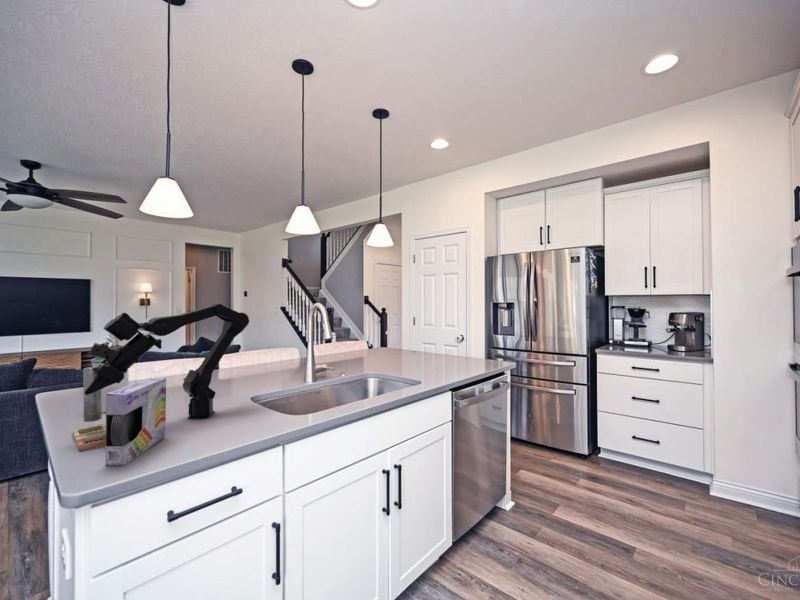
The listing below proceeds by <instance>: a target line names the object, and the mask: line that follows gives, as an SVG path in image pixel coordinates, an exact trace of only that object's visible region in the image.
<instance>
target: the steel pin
mask: <svg viewBox="0 0 800 600" xmlns="http://www.w3.org/2000/svg"><path fill="white" fill-rule="evenodd" d="M98 368H100V367H92V366H88V367H84V368H83V369H82V370H83V371H82V373H83V375H82V377H83V382H82V383H83V386H82V387H83V388H82V389H83V423H90V422H96V421H100V420H102V418H103V417H102V416H103V415H102V389H100V390H98V391H96V392H93V393H91V394H89V395H86V394H85V393H84V392H85V391H86V390H87V388H88V387H89V386H90V385H91V384H92V382H93V381H94V380H95V379H96V377H97V376H98V373H97V370H98Z"/></svg>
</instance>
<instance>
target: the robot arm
mask: <svg viewBox="0 0 800 600" xmlns="http://www.w3.org/2000/svg"><path fill="white" fill-rule="evenodd" d="M213 317H217V318H219V319H220V320H221V321H224V323H223V326H222V331H221V333H220V334H219V336H218V338H217V339H216V341H215V342H214V343H213V345H212V347H211V348H210V350H209V352H208V353H207V355H206V356H205V358H204V359H203V361H202V362H201V364H200V365H199V367H198V368H196V369H195V370H193V369H189V370H188V373H187V375H186V376H185V377H184V378H183V379H182V381H183V383H182V389H183V391H184V392H185V393H187V394H188V396H189V397H190V399H189V403H188V416H187V419H189V420H190V419H208V418H209V417H211V416H213V415H214V414H215V413H216V411H215V410H214V398H215V396H216V391H215V390H214V389H212V388H210V387H209V386H210V384H211V381H212V378H213V377H212V376H213V373H214V372H215V369H217V366H218V365H219V362H220V361H221V360H222V358H223V356H224V355H225V353H226V352H227V350H228V349H229V347H230V345H231V344H232V342H233V340H234V339H235V338H236V337H237V336H238V335H239V334H241V333H242V332H243V331H244V330H245V328H247V327H248V326H249V323H250V319H249V316H248V314H246V313H245V312H238V311H237V310H234V309H232V308H229V307H226V306H225V305H223V304H222V303H213V304H211V305H209V306H204V307H201V308H196V309H193V310H191V311H188V312H183V313H181V314H174V315H166V316H158V317H153V318H151V319H149V320H148V322H147V321H146V322H140V323H139V322H137V321H136V320H135V319H134V318H132V317H131V316H130V315H129V314H128V313H127V312H122V313H121V314H119V315H117V316H116V317H114V318H113V319H111V320H109V321H108V322H107V323H106V324H105V325H104V326H103V330H105V331H106V332H107V333H109V334H110V335H111V336H113V337H114V338H116V339H117V340H119V341H120V342H122V341H124V340H125V341H127V342H126V344H124V345H123V346H119V347H118V348H114V347H110V346H109V344H105V343H98V342H97V343H96V342H94V343H93V345H92V347H91V349H90V350H89V352H88V355H89V356H93V357H94V356H95V357H96V356H98V357H102V358H105V359H104V360H103V361H102V362H101V363H102V364H103V363H104V364H103V365H99V367H100V368H98V370H97V373H98V376H97V377H96V379H95V380H94V381H93V382H92V384H91V385H90V386H89V387H88V388H87V390H86V391H85V392H84V391H83V394H84V393H85V394H86V395H89V394H91V393H93V392H96V391H98V390H100V389H103V388H105V387H107V386H109V385H112V384H114V383H120V382H121V381H122V380H123V379H124V373H125V372H127V370H128V371H129V369H131V367H132V366H133V365H134V364H135V363H137V362H140V359H142V357H143V356H145V354H146V353H148V352H149V351H150V350H151V349H152V348H153V347H154V346H155V348H157V349H159V350H161V349H162V342H163V340H162V339H161V338H159V339H157V338H155V337H154V336H159V337H163V336H167V335H169V334H172V333H175V331H177V330H179V329H180V328H183V327H184V326H187V325H190V324H193V323H197V322H201V321H203V320H206V319H210V318H213ZM141 331H142V332H141ZM143 331H144V332H148V334H144V333H143Z"/></svg>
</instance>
